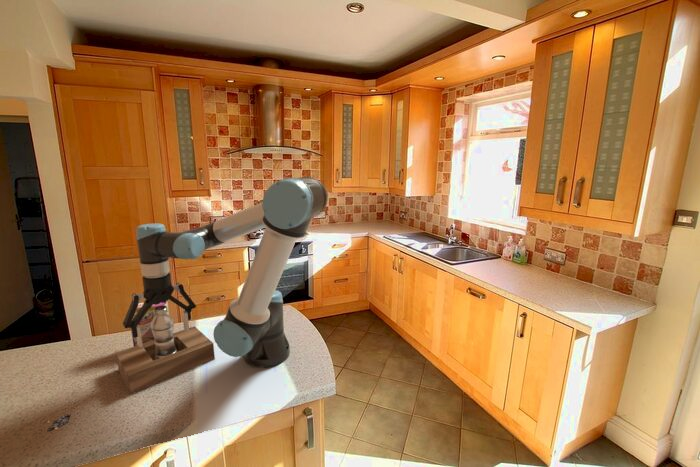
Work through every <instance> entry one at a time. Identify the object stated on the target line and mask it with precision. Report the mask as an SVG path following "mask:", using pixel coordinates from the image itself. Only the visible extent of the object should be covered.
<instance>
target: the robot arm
mask: <svg viewBox="0 0 700 467" xmlns="http://www.w3.org/2000/svg"><path fill="white" fill-rule="evenodd" d="M327 192H328V191H327V189H326V186H324V184H323V183H322V182H321V181H320V180H319V179H317V178H315V177H311V176H302V177H301V176H300V177H287V178H282V179H280V180H278V181H275V182H274V183H272V184H271V185H270V186H269V187H268V188H267V189H266V191H265V192H264V195H263V197H262V201H261V202H260V203H257V204H255V205H253V206H249V207H248V208H245V209H243V210H239V211H238V212H236V213H232V214H230V215H228V216H226V217H225V216H224V217H223V218H220V219H218V220H216V221H212V222H211V223H208V224H205V225H202V226H199V227H196V228H195V227H194V228H192V229H187V230H184V231H179V232H172V231H171V232H169V231H167V229H166V225H164V224H162V223H154V222H153V223H146V224H145V223H144V224H141V225H140V224H139V225H138V226H137V227H136V230H135V233H136V234H135V235H136V242H137V250H138V256H139V262H140V270H141V276H142V278H141V279H142V285H143V293H142V292H141V293H138V294H137V293H134V292H133V293H132V294H131V301H130V302H131V303H130V305H129V307H128V310H127V312H126V315H125V318H124V319H123V322H122V326H123V327H124V329H131V337H132V336H133V337H134V338H135V337H137V344H138V346H139V347H143V345H142V338H141V331H140V326H139V325H138V324H139V323H140V321H141V320H142V318H143V317H144V315H145V314H146V312H147V311H148V310H149V308H151V307H152V305H153V304H155V305H157V304H159V303H164V302H166V301H167V302H168V301H171V302H172V303H173V304H176V305H177V306H179V307H180V308H181V309H183V310H181V313H182V324H183V330H186V331H189V328H190V326H189V321H190V320H192V314H191V312H192V311H193V309H195V308H196V307H197V305H196V303H195V302H194V301H193V300H192V298H191V297H190V296H189V295H188V294H187V292H186V291H185V288H184V285H183V284H182V283H180V282H177V283H176V284H175V285H172V276H171V268H170V258H171V259H179V260H196V259H199V258H200V257H201V255H203V253H204V251H206V250H209V249H211V248H215V247H217V246H221V245H223V244H225V243H228V242H230V241H232V240H235V239H237V238H241V237H243V236H245V235H249V234H251V233H254V232H256V231H259V230H260V231H261V230H263V229H264V232H263V233H262V234H263V235H262V236H261V238H260V239H261V240H260V242H259V244H258V246H257V250H256V252H255V255H254V257H253V260H252V263H251V265H250V268H249V270H248V273H247V276H246V278H245V281H244V284H243V285H242V288H241V291H240V293H239V296H238V297H236V298H235V299H233V300H232V301H231V302H230V304H229V307H228V308H227V311H226V314H225V317H224V318H223V319H222V320H220V321H219V322H218V323H217V324H216V326H214V329H213V334H212V336H213V340H214V342H215V343H216V345H217V347H218V348H219V349H220V351H221V352H222V353H224V354H226V355H228V356H229V357H234V358H239V357H244V361H245V363H246V364H248V365H250V366H252V367H256V368H269V367H273V366H276V365H277V366H278V365H279V364H281V363H283V362H284V361H286V360H287V359H288V357H289V356H290V353H291V348H290V343H289V340H288V337H287V336H286V333H285V330H284V329H285V328H284V327H285V326H284V305H283V304H284V300H283V295H282V292H281V291H280V290H277V287H278V284H279V282H280V279H281V277H282V275H283V272H284V270H285V267H286V266H287V262H288V260H289V258H290V256H291V253H292V252H293V248H294V246H295V243H296V242H297V240H300V239H303V238H304V237H305V235H306V233H307V231H308V229H309V226H310V223H311V222H312V219H313V218H316V217H318V216H319V215H320V214H321V213H322V212H324V210H325V209H326V207H327V205H328V198H329V197H328V193H327ZM174 291H175V292H178V293H179V294H180V295H181V296H182V298H183V299H184V300H185V301H186V302H187V304H188V305H186V304H184V303H183V302H182V301H180V300H179V299H178V298H175V297H174V296H173V293H174ZM142 299H145V301H144V304H143V306H142V307H141V309H140V310H139V311H138V313H137V314H136V316H135V317H134V318H133V316H134V314H135V312H136V309H137V307H138V304H139V303H140V302H142ZM132 319H133V320H132Z"/></svg>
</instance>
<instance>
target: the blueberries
mask: <svg viewBox="0 0 700 467" xmlns="http://www.w3.org/2000/svg"><path fill="white" fill-rule="evenodd" d="M70 418H71V414H70V413H66V414H64V415H62V416H59V418H57V419H55V418H53V420H52V421H53V424H52V425H51V426H49V427H48V428H47V429H46V432H53V431H54V430H57V429H60V428H62V427H65V425H67V424H68V423H69V420H70ZM47 423H50V420H48V421H47Z"/></svg>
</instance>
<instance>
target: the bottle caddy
mask: <svg viewBox="0 0 700 467" xmlns="http://www.w3.org/2000/svg"><path fill="white" fill-rule="evenodd" d="M173 334H174V343H175V347H176V350H177V352H175V353H173V354H170V355H167V356H165V357H162V358H159V359H157V360H155V353H156V351H155V340H152V341H149V342H146V343H143V344H142V345H143V347H139V346H138V345H137V346H134V345H133V346H132V347H129V348H125V349H123V350H120V351H117V352H115V357H116V362H117V367H118V368H117V369H118V371H119V373H120V375H121V377H122V379H123V381H124V383H125V385H126V386H127V389H128V391H129V393H130V395H134V394H136V393H138V392H141V391H143V390H146V389H147V388H150V387H152V386H155V385H157V384H160V383H162V382H164V381H166V380H169V379H171V378H174V377H176V376H178V375H181V374H184V373H186V372H188V371H190V370H192V369H195V368H197V367H199V366H202V365H205V364H207V363H209V362H211V361H214V360H216V359H215V358H216V357H215V349H214V348H215V347H214V342H213V341H212V340H210V338H208V337H207V336H206V335H205V334H204V333H203V332H202V331H201V330H199V329H198V328H197V327H196V326H191V327H189V331H186V330H185V329H182V330H180V331H176V332H173Z"/></svg>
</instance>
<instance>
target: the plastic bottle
mask: <svg viewBox="0 0 700 467" xmlns="http://www.w3.org/2000/svg"><path fill="white" fill-rule="evenodd" d="M168 311H169V309H168V310H167V307H166V306H164V305H162V306H157V307H155V308H154V315H155V317H154V318H153V320H152V322H151V329H152V333H153V336H154V340H155V351H156V353H155V360H157V359H159V358H162V357H165V356H167V355H170V354H173V353H175V352H177V350H176V347H175V343H174V334H173V333H174V329H175V328H174V326H175V325H174V324H175V323H174V322H175V321H174V319H173V317H172V316H171V315H170V314H169V315H168V314H167V313H168Z"/></svg>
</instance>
